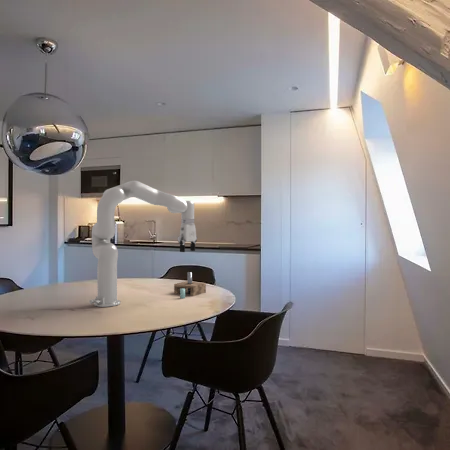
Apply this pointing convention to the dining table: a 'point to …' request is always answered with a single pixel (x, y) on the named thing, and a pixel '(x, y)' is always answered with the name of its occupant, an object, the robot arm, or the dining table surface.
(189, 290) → the long pin
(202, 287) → the bridge
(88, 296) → the dining table surface
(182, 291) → the short pin
